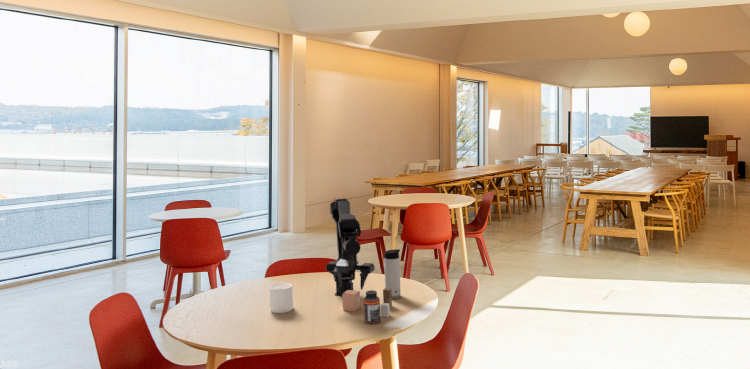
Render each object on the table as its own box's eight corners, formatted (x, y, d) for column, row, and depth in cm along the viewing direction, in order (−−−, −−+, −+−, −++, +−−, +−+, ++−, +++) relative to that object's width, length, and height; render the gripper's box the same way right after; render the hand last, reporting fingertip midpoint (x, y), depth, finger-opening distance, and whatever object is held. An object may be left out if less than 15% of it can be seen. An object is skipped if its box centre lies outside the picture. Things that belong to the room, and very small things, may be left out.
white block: (381, 316, 218) (380, 305, 218) (383, 314, 221) (383, 303, 220) (387, 317, 217) (387, 305, 217) (390, 315, 220) (389, 303, 219)
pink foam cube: (343, 310, 228) (342, 293, 227) (348, 306, 232) (347, 290, 232) (355, 311, 226) (354, 294, 225) (360, 307, 231) (359, 290, 230)
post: (383, 307, 229) (383, 289, 229) (385, 305, 232) (385, 288, 231) (389, 307, 228) (389, 290, 228) (391, 305, 231) (391, 288, 230)
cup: (274, 315, 225) (272, 290, 224) (266, 308, 233) (265, 284, 232) (297, 310, 229) (296, 286, 228) (288, 304, 238) (287, 281, 237)
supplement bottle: (363, 319, 216) (362, 289, 215) (379, 318, 216) (378, 288, 215) (364, 324, 210) (363, 294, 209) (381, 323, 210) (380, 293, 209)
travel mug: (400, 299, 239) (398, 251, 237) (384, 298, 241) (382, 251, 238) (402, 294, 245) (400, 248, 243) (387, 294, 247) (385, 248, 245)
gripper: (318, 253, 223) (320, 292, 224) (363, 255, 216) (365, 296, 218) (330, 247, 233) (332, 284, 235) (374, 249, 226) (375, 287, 228)
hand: (350, 288), depth 228 cm, fingers open, 9 cm apart
